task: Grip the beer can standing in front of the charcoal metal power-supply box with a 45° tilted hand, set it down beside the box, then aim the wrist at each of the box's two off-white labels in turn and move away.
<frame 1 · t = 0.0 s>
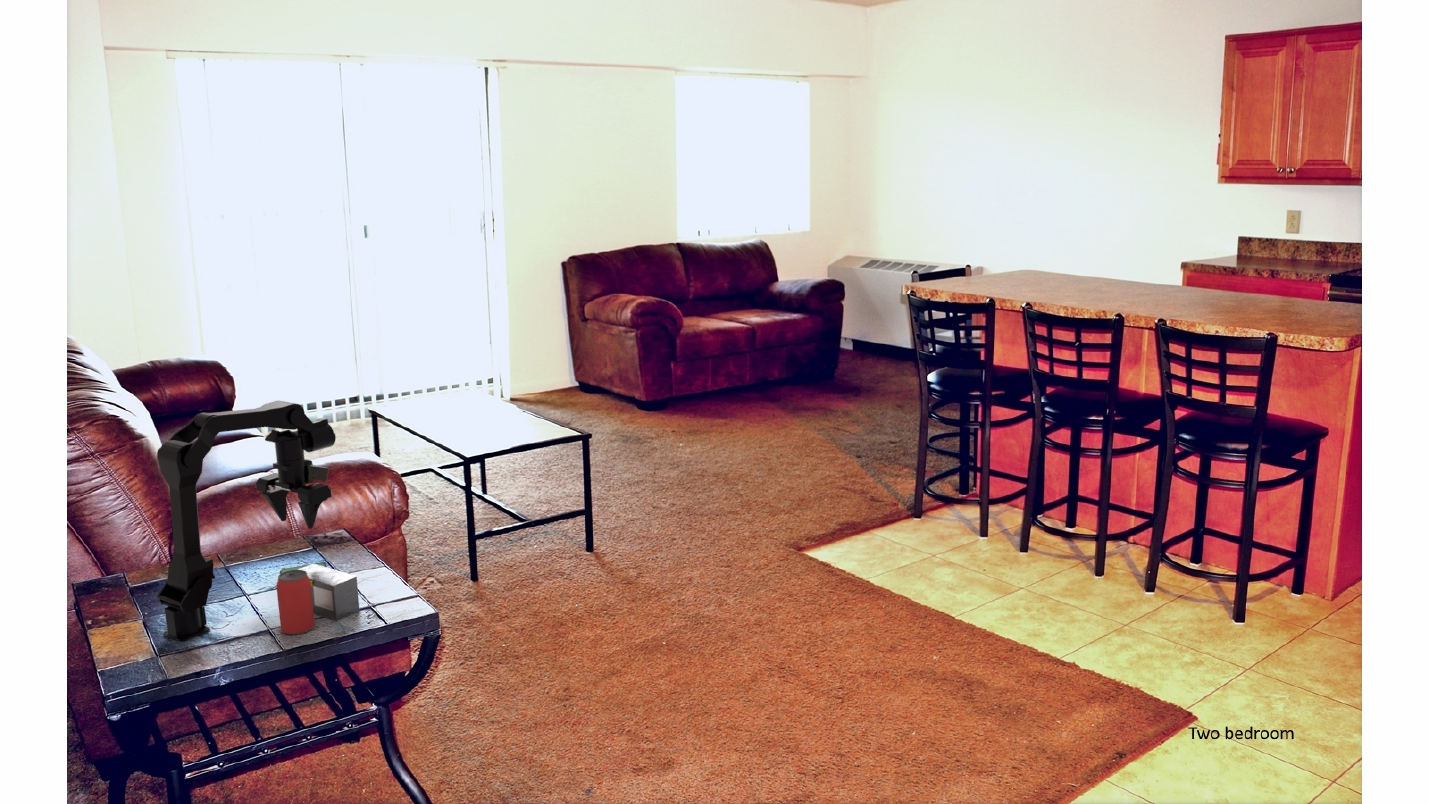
hand: (297, 524, 238), 15 cm above the table, tool pointing down, fingers open, 9 cm apart
beer can: (298, 629, 220), on the table
disk drive: (305, 587, 242), on the table
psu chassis: (326, 609, 229), on the table
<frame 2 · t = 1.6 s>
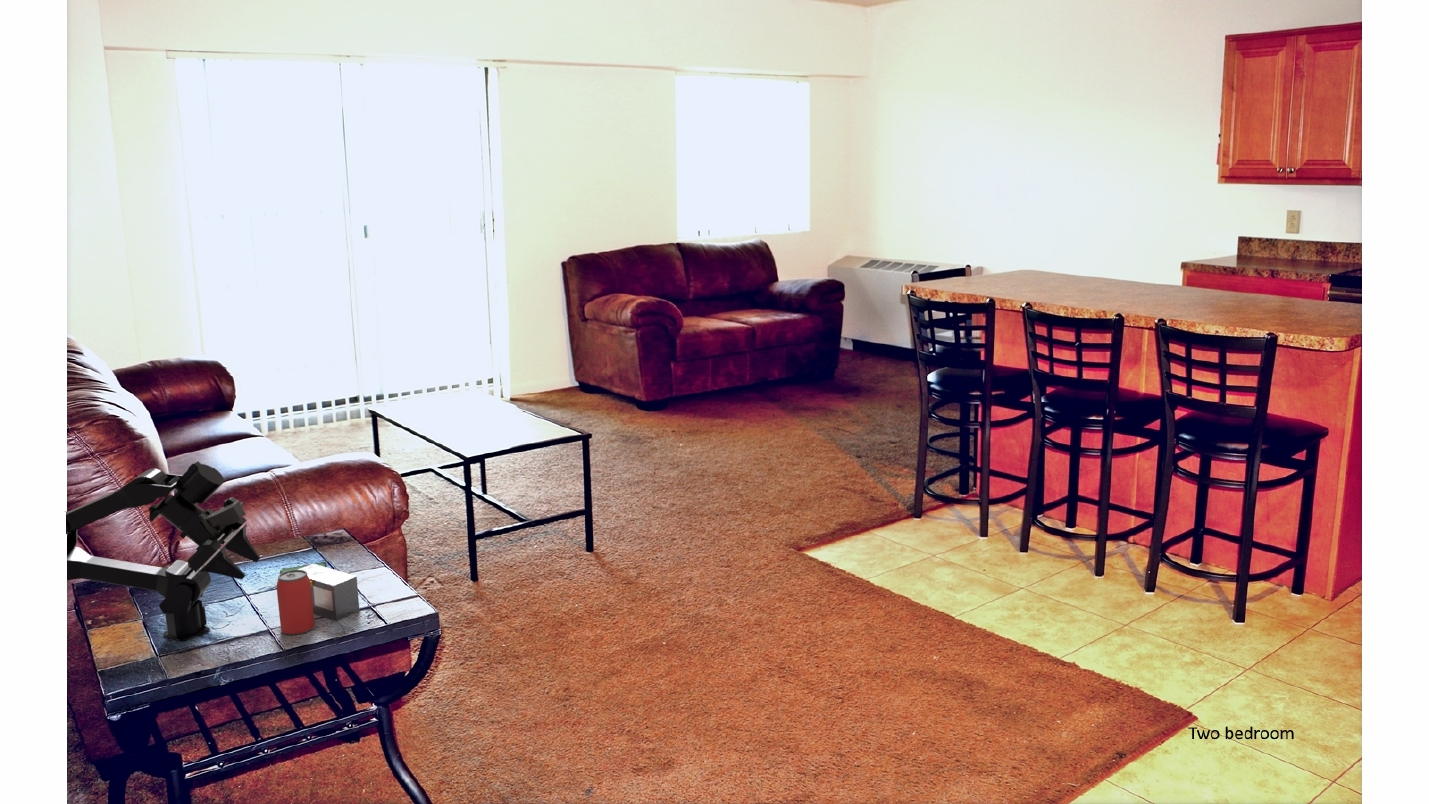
hand: (251, 568, 216), 13 cm above the table, tool tilted 45°, fingers open, 9 cm apart
nothing on the table moved.
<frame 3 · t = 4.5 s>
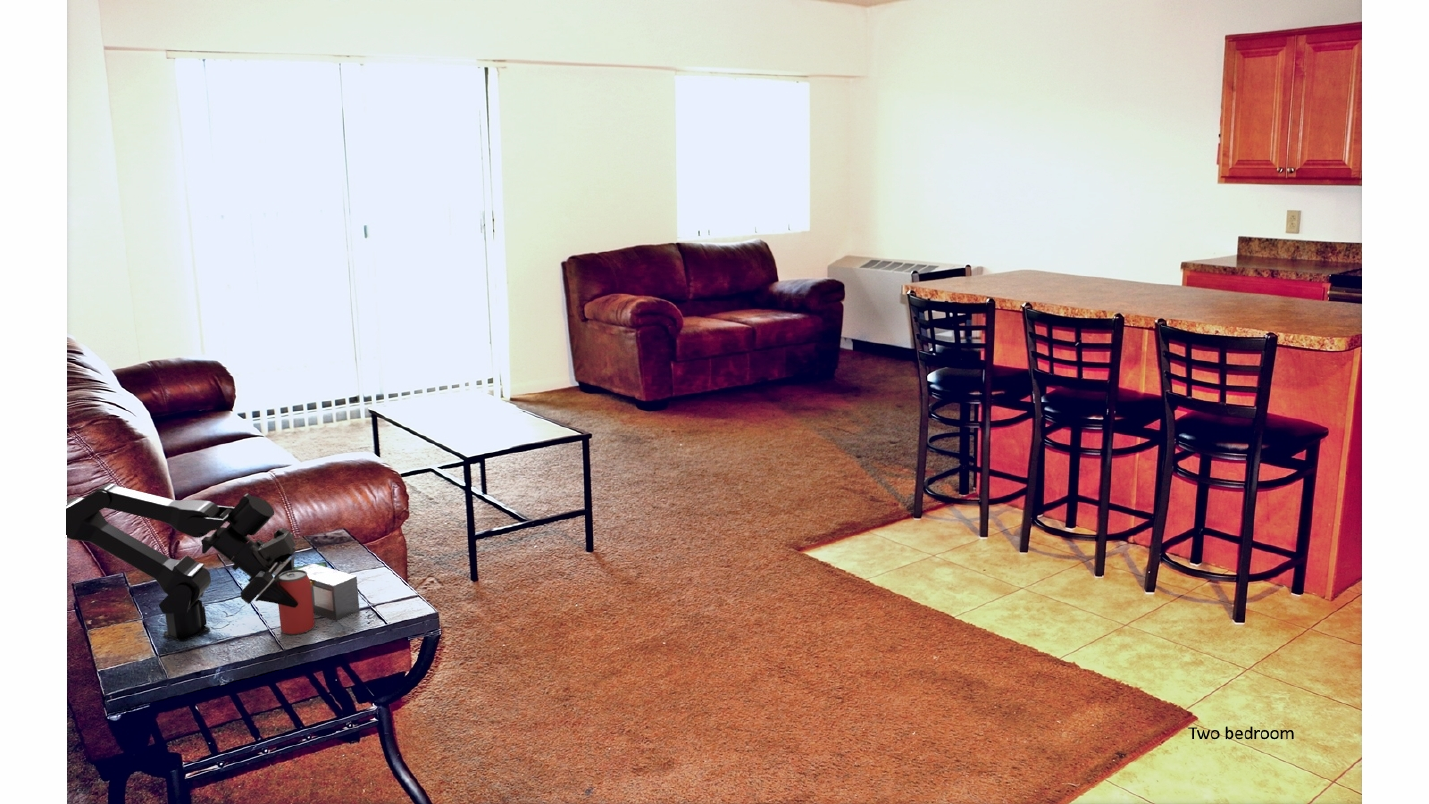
hand: (302, 598, 219), 7 cm above the table, tool tilted 45°, fingers closed on beer can, 6 cm apart
beer can: (298, 629, 220), on the table, touching gripper
everything else where it was.
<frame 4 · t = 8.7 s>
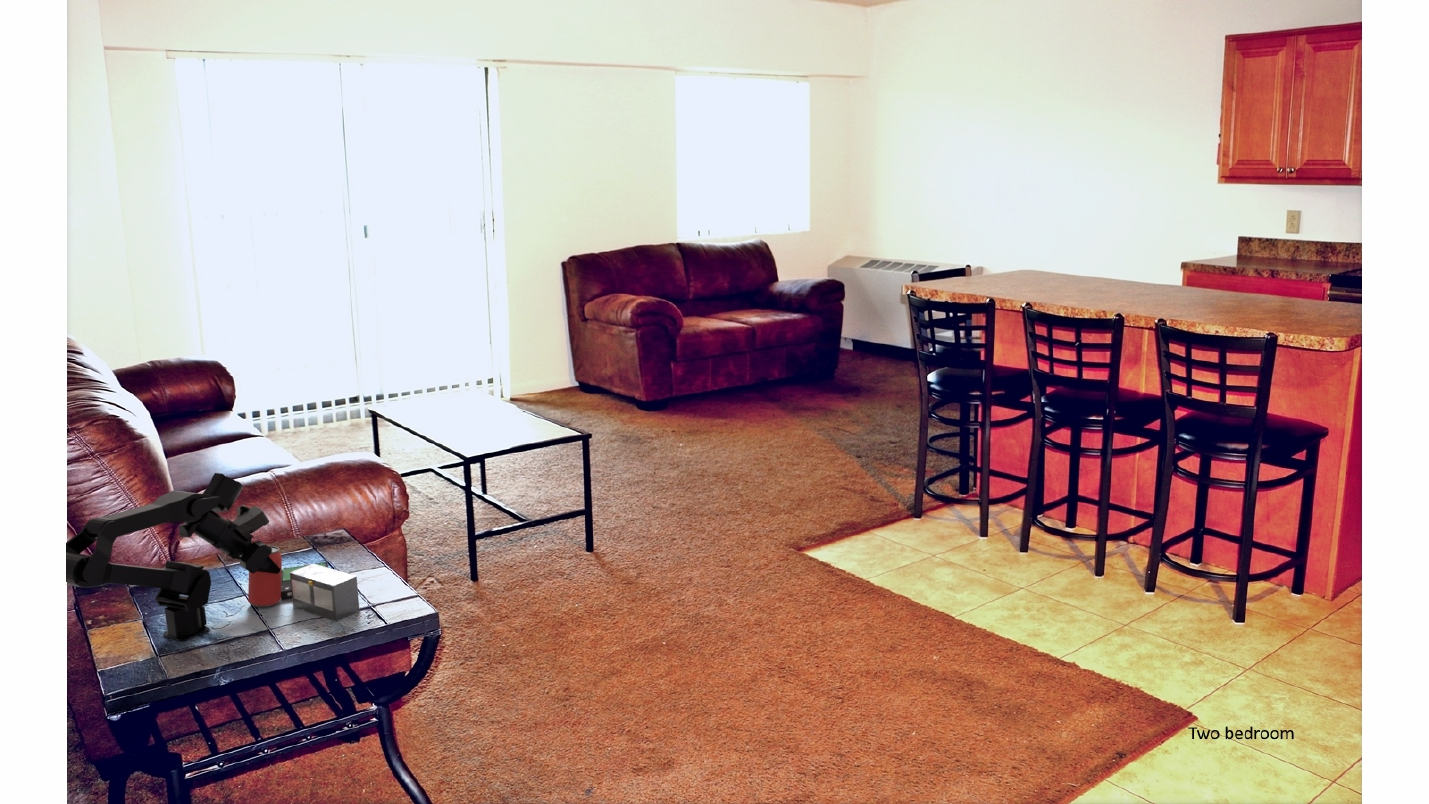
hand: (273, 567, 232), 8 cm above the table, tool tilted 45°, fingers closed on beer can, 7 cm apart
beer can: (264, 603, 232), on the table, touching disk drive, gripper
disk drive: (305, 587, 242), on the table, touching beer can
when the fingers open (8 cm above the table, at t = 9.3 s): beer can stays where it is, on the table.
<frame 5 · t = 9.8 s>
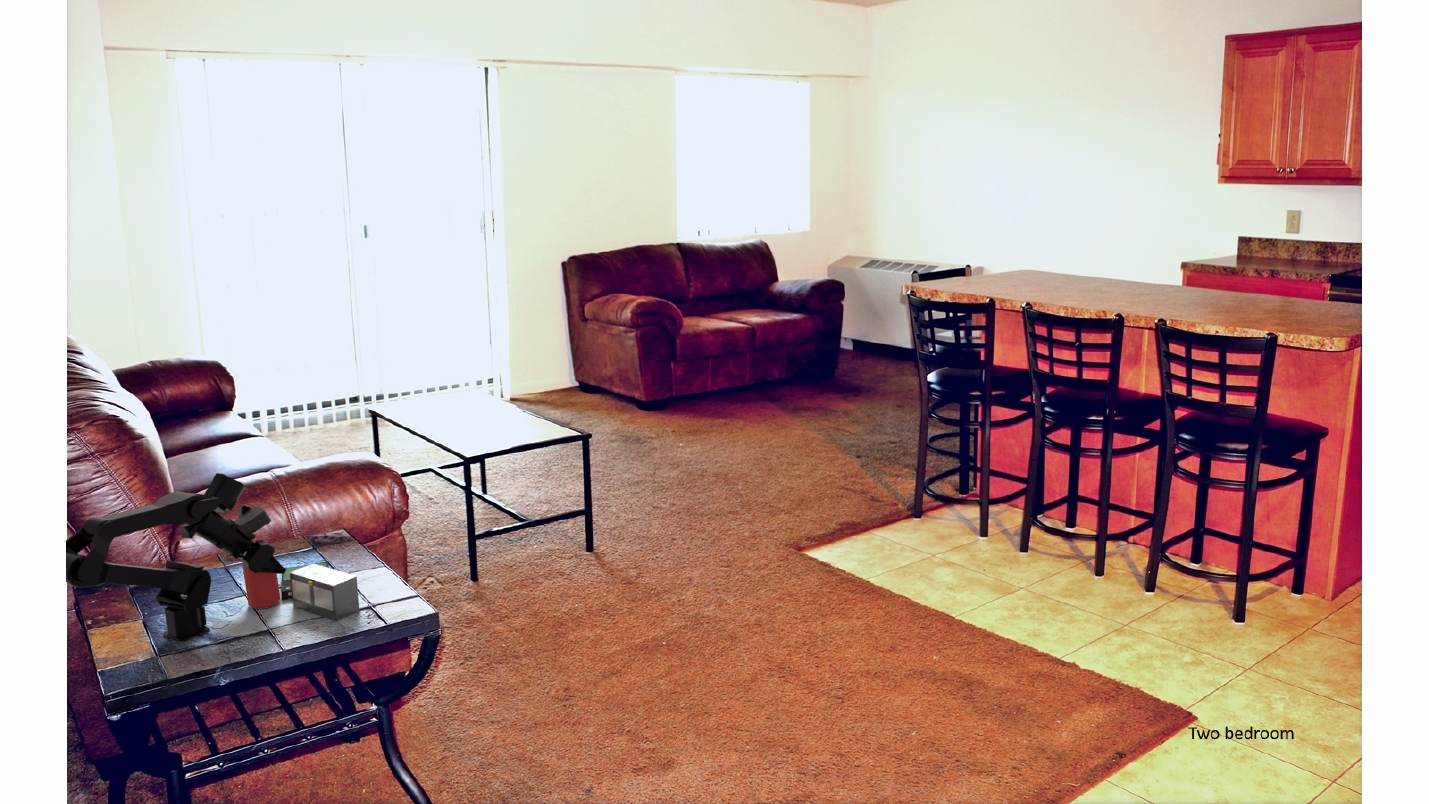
hand: (276, 565, 232), 8 cm above the table, tool tilted 45°, fingers open, 9 cm apart
beer can: (264, 604, 232), on the table
disk drive: (306, 587, 243), on the table
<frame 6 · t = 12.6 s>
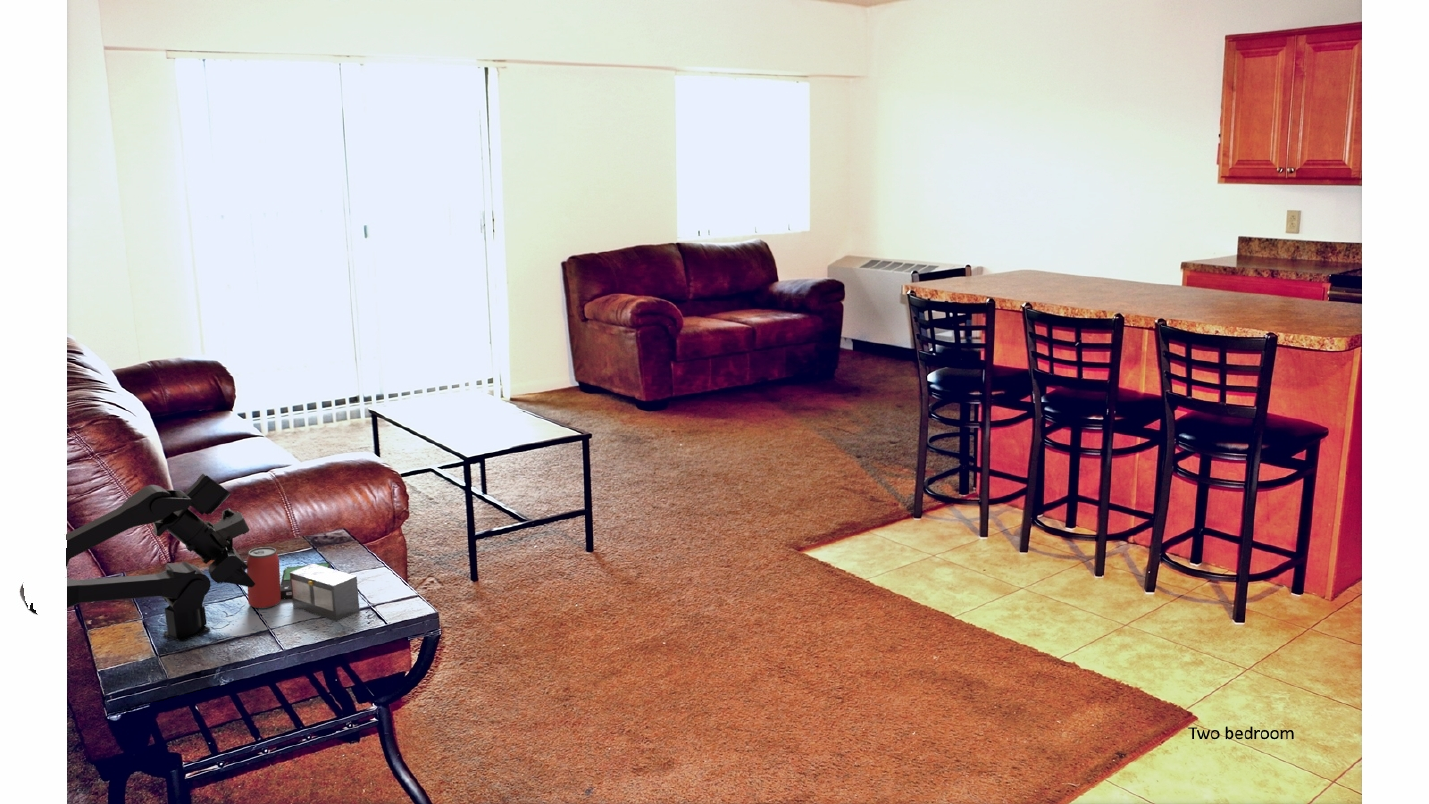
hand: (249, 577, 224), 9 cm above the table, tool tilted 40°, fingers open, 9 cm apart
beer can: (264, 604, 232), on the table, touching gripper
everything else where it was.
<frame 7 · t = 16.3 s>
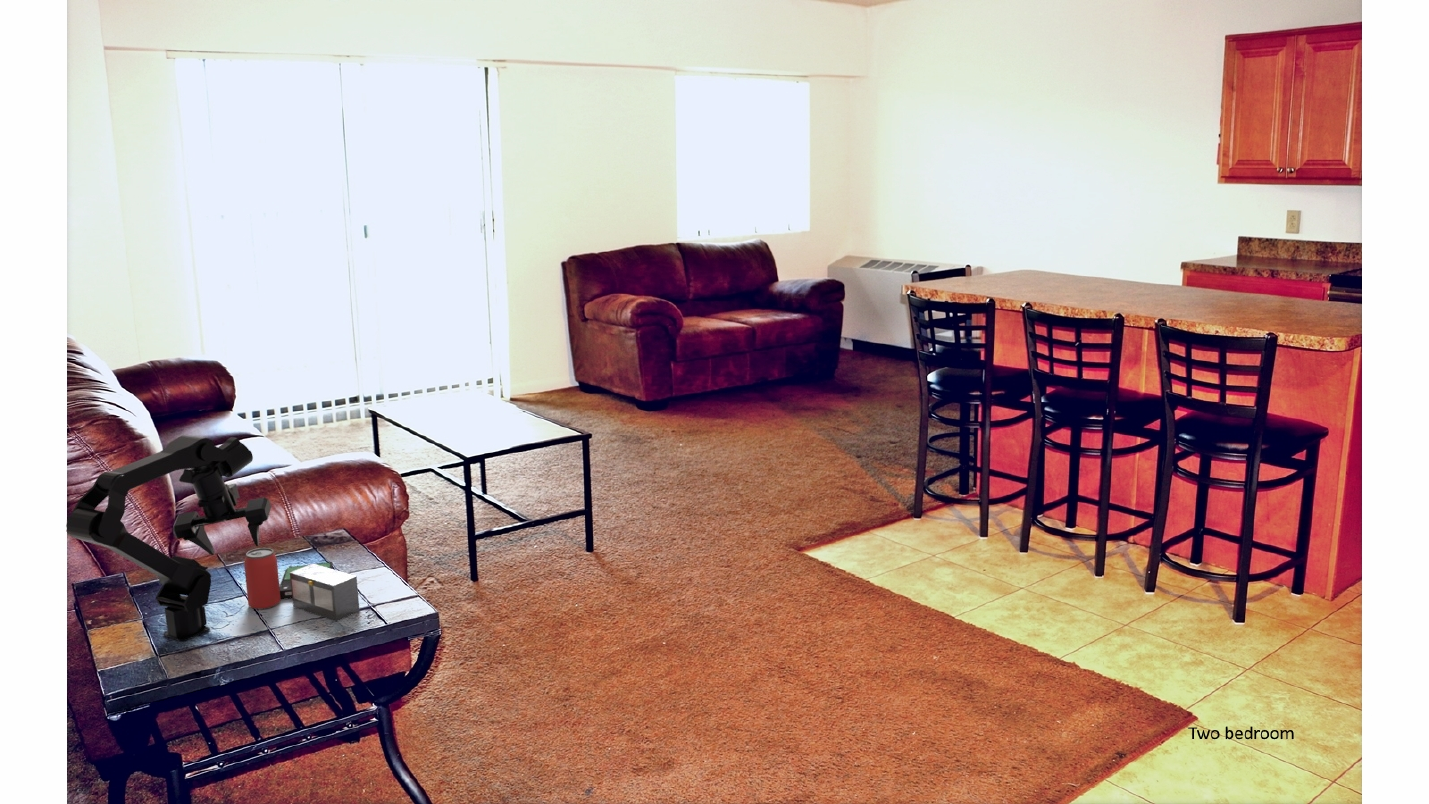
hand: (235, 549, 228), 13 cm above the table, tool tilted 15°, fingers open, 9 cm apart
beer can: (264, 605, 232), on the table
everything else where it was.
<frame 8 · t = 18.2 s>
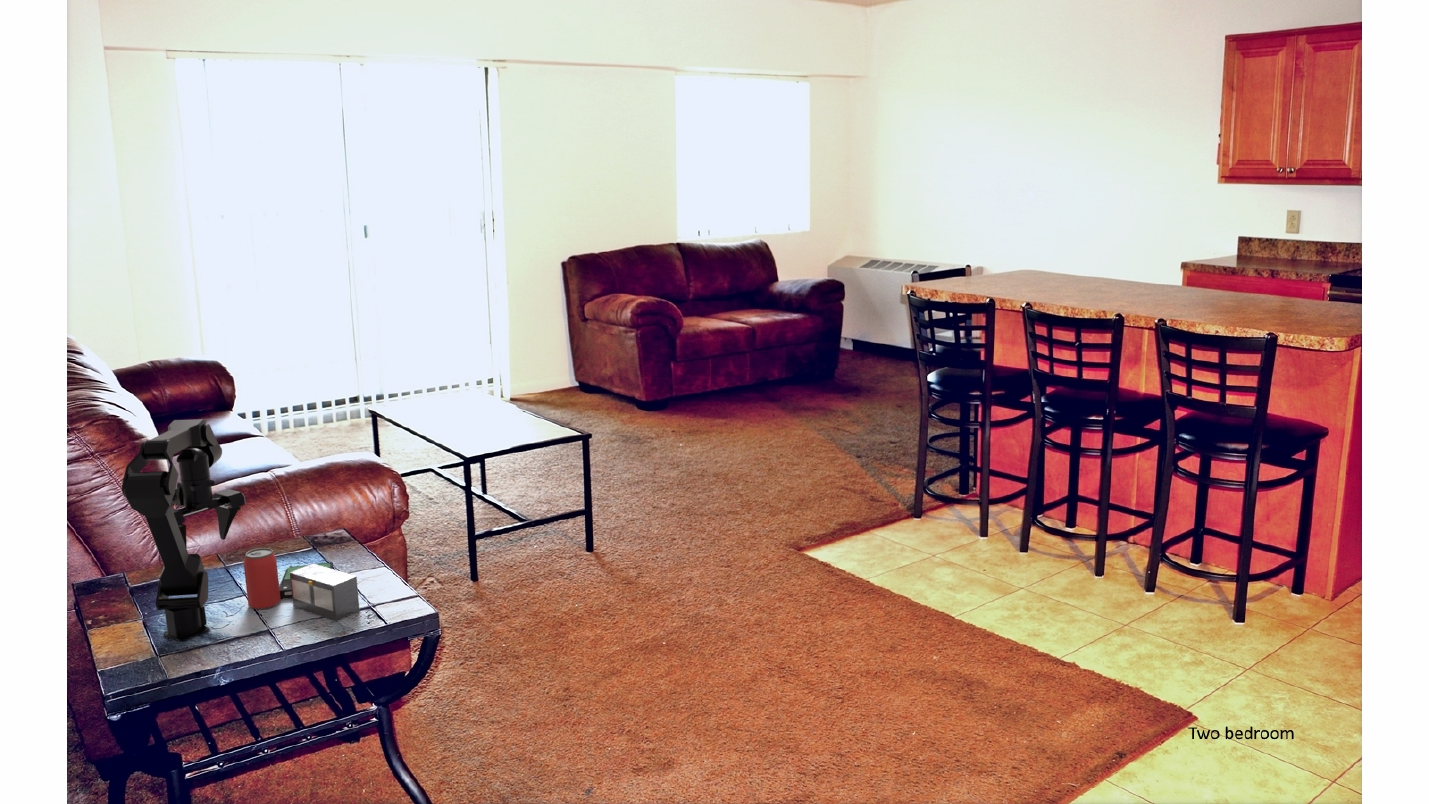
hand: (203, 545, 230), 13 cm above the table, tool pointing down, fingers open, 9 cm apart
nothing on the table moved.
at the end: beer can inside the target area (2.4 cm from its centre), on the table; beer can tilted 0°; the gripper is holding nothing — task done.
